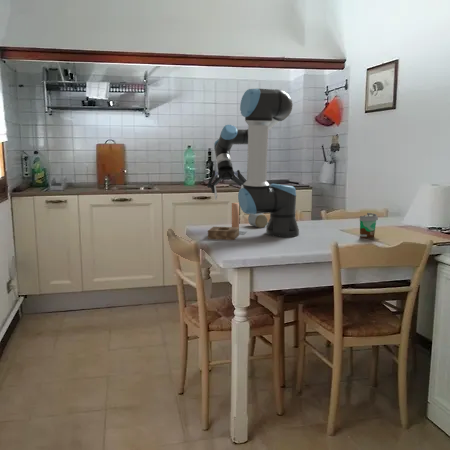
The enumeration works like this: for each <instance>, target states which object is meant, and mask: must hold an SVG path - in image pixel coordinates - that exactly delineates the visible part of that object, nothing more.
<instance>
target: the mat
mask: <svg viewBox="0 0 450 450" xmlns="http://www.w3.org/2000/svg"><path fill="white" fill-rule="evenodd" d="M247 233H248V231H240V230H239V236H245V235H246V234H247Z"/></svg>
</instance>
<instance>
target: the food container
mask: <svg viewBox="0 0 450 450" xmlns="http://www.w3.org/2000/svg"><path fill="white" fill-rule="evenodd" d="M377 221H378V215H377V214H376V213H373V212H372V213H371V212H367V214H366V215H361V216H359V238H360V239H373V238H375V234H376V227H377V226H376V225H377Z"/></svg>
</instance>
